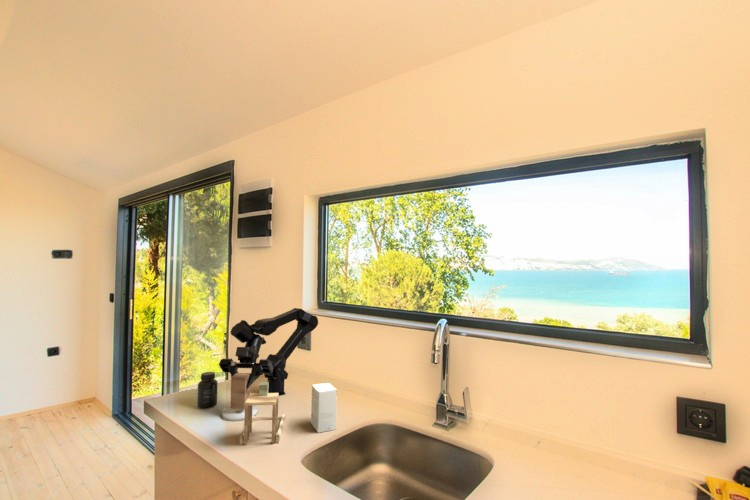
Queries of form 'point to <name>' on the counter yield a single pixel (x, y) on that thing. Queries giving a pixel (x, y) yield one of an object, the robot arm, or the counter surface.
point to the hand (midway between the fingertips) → (239, 387)
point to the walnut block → (239, 390)
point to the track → (267, 419)
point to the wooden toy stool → (261, 399)
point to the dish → (237, 413)
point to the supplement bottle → (207, 391)
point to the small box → (323, 407)
